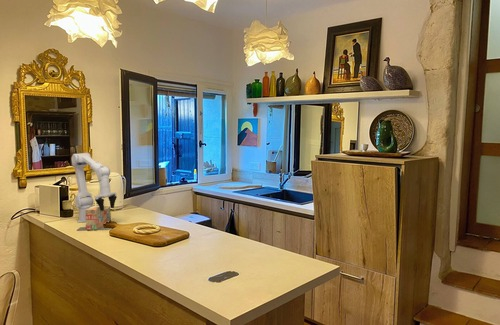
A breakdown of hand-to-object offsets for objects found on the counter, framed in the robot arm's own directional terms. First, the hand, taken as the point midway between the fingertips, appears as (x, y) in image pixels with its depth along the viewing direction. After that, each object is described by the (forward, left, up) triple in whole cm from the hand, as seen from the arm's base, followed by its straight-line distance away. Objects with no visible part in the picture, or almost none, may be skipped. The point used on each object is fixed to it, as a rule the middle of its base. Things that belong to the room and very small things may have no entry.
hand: (107, 209), depth 222 cm
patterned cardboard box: (-4, -7, -11) cm, 13 cm away
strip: (+3, -7, -11) cm, 13 cm away
